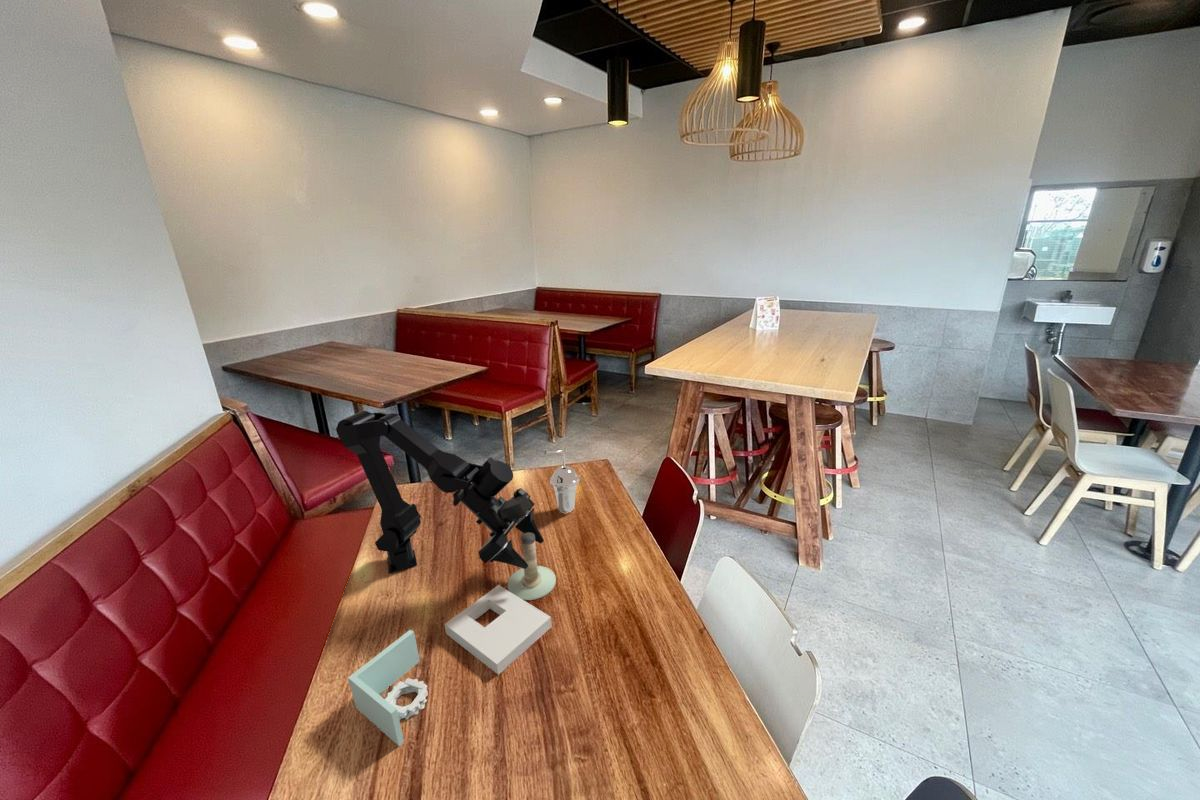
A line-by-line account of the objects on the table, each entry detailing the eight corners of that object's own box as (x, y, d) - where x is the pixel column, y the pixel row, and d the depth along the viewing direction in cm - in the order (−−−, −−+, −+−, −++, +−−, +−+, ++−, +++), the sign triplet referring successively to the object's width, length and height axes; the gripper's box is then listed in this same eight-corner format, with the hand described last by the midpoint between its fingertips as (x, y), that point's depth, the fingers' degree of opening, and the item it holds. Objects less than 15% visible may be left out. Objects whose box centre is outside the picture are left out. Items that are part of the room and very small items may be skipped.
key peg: (519, 586, 107) (514, 541, 103) (526, 573, 111) (522, 529, 107) (537, 589, 106) (533, 543, 102) (544, 576, 110) (540, 532, 106)
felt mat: (502, 576, 111) (501, 575, 111) (545, 562, 116) (545, 560, 116) (516, 606, 102) (515, 604, 102) (563, 589, 106) (563, 587, 106)
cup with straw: (580, 517, 134) (577, 453, 128) (548, 518, 134) (543, 454, 128) (581, 502, 142) (578, 441, 136) (551, 502, 142) (547, 441, 136)
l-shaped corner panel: (399, 748, 74) (391, 713, 72) (356, 711, 81) (347, 677, 78) (459, 690, 84) (453, 657, 81) (416, 660, 90) (410, 629, 88)
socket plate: (446, 633, 95) (444, 624, 95) (499, 594, 106) (498, 584, 105) (498, 674, 86) (497, 664, 85) (551, 626, 96) (550, 616, 95)
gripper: (485, 508, 93) (541, 562, 94) (523, 466, 110) (570, 512, 111) (455, 537, 98) (509, 589, 99) (496, 492, 115) (541, 537, 116)
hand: (534, 554), depth 106 cm, fingers open, 9 cm apart
